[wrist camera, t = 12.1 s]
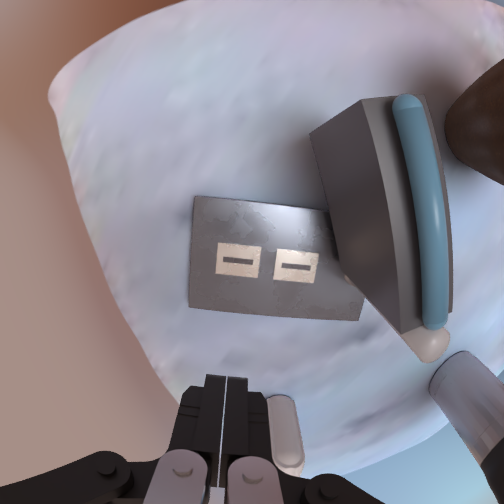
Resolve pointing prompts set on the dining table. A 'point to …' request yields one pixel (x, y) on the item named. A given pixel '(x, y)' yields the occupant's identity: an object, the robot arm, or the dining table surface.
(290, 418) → the photo printer
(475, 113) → the plant pot
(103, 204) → the dining table surface
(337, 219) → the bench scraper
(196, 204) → the panel
